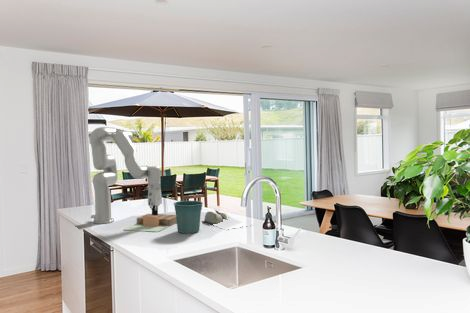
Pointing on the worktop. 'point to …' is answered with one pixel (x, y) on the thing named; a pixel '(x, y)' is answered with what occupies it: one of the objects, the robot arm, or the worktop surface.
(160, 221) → the board
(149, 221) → the terracotta tile
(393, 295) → the worktop surface
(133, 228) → the sage mat
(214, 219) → the grey lumpy piece
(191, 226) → the flower pot
